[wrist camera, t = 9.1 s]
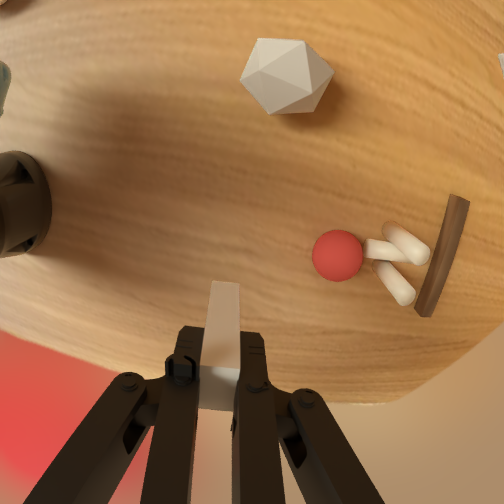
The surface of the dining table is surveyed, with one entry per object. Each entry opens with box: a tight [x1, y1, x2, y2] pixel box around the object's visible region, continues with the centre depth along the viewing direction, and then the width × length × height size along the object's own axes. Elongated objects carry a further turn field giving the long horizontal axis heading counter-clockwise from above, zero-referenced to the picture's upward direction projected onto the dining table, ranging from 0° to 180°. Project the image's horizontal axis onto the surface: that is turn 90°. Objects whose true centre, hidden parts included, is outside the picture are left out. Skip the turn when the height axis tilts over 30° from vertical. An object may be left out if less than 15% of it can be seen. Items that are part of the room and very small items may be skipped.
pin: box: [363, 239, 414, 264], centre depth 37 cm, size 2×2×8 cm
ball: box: [312, 230, 363, 282], centre depth 35 cm, size 6×6×6 cm
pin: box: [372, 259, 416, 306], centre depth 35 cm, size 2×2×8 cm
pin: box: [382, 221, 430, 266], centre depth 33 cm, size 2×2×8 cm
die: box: [240, 38, 335, 115], centre depth 27 cm, size 8×9×10 cm
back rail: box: [414, 194, 470, 317], centre depth 38 cm, size 2×18×2 cm, turn 173°
